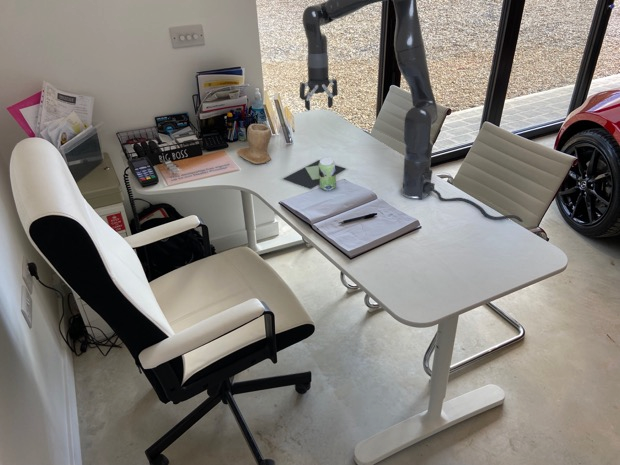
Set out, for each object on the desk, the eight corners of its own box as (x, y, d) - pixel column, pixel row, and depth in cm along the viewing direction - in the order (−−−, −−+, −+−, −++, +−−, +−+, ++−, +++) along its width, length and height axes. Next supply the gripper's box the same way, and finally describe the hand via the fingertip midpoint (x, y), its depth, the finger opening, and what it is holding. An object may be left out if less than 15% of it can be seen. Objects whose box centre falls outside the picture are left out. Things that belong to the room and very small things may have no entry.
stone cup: (278, 160, 210) (275, 126, 203) (254, 168, 205) (250, 133, 197) (259, 150, 221) (256, 117, 213) (236, 157, 215) (232, 123, 207)
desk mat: (345, 169, 201) (345, 168, 201) (310, 188, 187) (310, 187, 187) (319, 161, 209) (318, 159, 208) (283, 179, 195) (283, 178, 194)
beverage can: (336, 184, 189) (336, 155, 183) (335, 193, 183) (335, 163, 177) (320, 184, 190) (319, 155, 184) (318, 193, 184) (317, 163, 177)
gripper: (302, 69, 175) (304, 113, 184) (339, 64, 178) (340, 109, 187) (296, 64, 181) (298, 108, 190) (332, 60, 185) (333, 103, 193)
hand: (319, 108), depth 188 cm, fingers open, 8 cm apart
